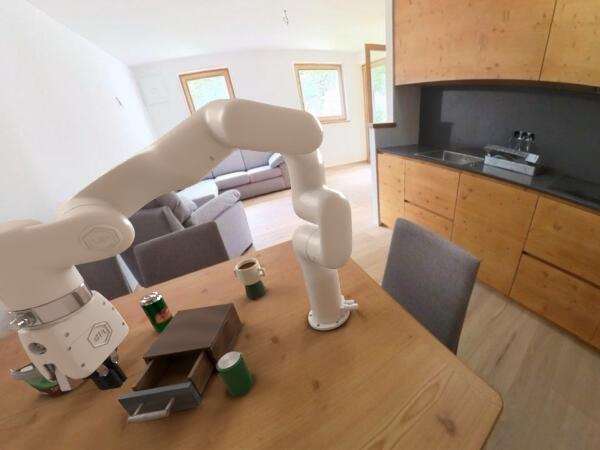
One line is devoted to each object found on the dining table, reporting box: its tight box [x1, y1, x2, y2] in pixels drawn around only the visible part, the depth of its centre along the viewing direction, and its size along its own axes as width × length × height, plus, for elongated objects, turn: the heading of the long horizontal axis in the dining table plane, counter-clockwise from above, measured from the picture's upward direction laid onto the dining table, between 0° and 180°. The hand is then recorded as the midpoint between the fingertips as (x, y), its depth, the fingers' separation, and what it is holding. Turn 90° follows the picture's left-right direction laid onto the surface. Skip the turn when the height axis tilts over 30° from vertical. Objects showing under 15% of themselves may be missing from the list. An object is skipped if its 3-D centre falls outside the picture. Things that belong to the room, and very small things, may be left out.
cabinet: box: [142, 302, 243, 373], centre depth 75 cm, size 16×15×9 cm
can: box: [216, 350, 253, 397], centre depth 65 cm, size 5×5×9 cm
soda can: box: [139, 291, 174, 333], centre depth 83 cm, size 5×5×12 cm
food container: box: [9, 361, 68, 397], centre depth 68 cm, size 12×6×10 cm, turn 148°
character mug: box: [232, 257, 267, 300], centre depth 95 cm, size 11×7×13 cm, turn 88°
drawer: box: [117, 350, 215, 425], centre depth 65 cm, size 18×14×7 cm
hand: (114, 384), depth 48 cm, fingers closed
